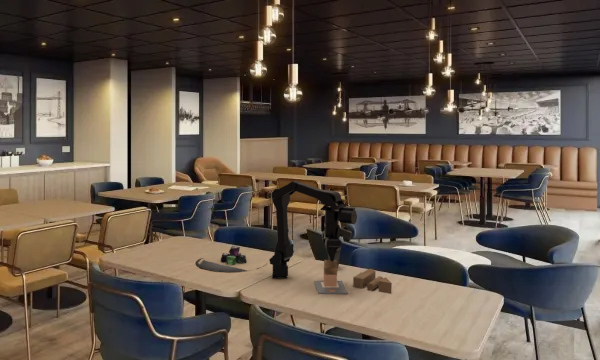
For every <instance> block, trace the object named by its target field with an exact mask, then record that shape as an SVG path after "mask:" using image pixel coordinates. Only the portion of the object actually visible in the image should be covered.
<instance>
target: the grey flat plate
mask: <svg viewBox="0 0 600 360" xmlns="http://www.w3.org/2000/svg"><path fill="white" fill-rule="evenodd" d="M314 285H315V289H316V292H317V294H318V295H327V294H328V295H348V294H349V293H348V290H347V288H346V286H345V284H344V281H343V280H337V286H324V283H323V280H314Z"/></svg>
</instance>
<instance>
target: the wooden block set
mask: <svg viewBox="0 0 600 360" xmlns="http://www.w3.org/2000/svg"><path fill="white" fill-rule="evenodd" d="M352 281H353V282H352V286H353V288H359V289H364V288H367V290H368V291H374V290H375V289H376V288H378V292H383V293H387V294H392V289H393V288H392V287H393V286H392V285H393V283H392V282H391V281H390V280H389V279H388V278H387V277H382V276H377V277H376V270H374V269H373V268H368V269H366V270H365V271H363V272H360V273H358V274H356V275H355V276H353V280H352Z"/></svg>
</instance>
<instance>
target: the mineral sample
mask: <svg viewBox="0 0 600 360" xmlns="http://www.w3.org/2000/svg"><path fill="white" fill-rule="evenodd" d="M240 249H241V247H240V246H235V245H232V246H231V247H230V249H228V250H229V251H228V253H226V252H223V253H222V254H221V257H220V261H221V262H222V263H227V265H224V264H220V263H215V262H212V261H209V260H206V259H204V258H201V257H200V258H199V259H197V260H196V261H195V265H196V266H197V267H199V268H200V269H202V270H203V269H204V270H207V271H212V272H213V271H214V272H223V273H236V272H237V273H238V272H239V273H240V272H248V270H246V269H243V268H238V267H234V266H232V265H237V264H247V261H248V260H247V256H246V254H242V252H240ZM200 261H201V262H200ZM267 264H268V262H266V264H264V265H263V267H265V266H266V265H267ZM260 268H262V267H260V266H259V267H258V268H256V270H258V269H260Z"/></svg>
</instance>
